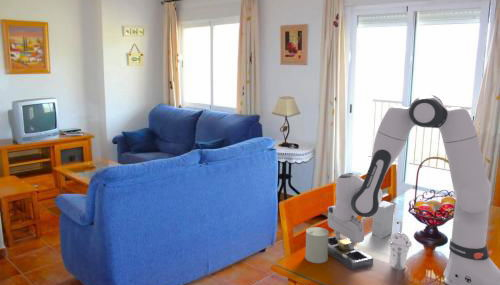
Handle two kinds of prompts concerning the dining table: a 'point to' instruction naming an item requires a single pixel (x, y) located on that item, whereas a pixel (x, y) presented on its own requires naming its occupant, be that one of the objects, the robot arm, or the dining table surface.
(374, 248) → the dining table surface
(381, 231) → the skincare box
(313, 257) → the can
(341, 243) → the pale yellow upright block
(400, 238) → the cup with straw
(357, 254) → the grey compartment tray
